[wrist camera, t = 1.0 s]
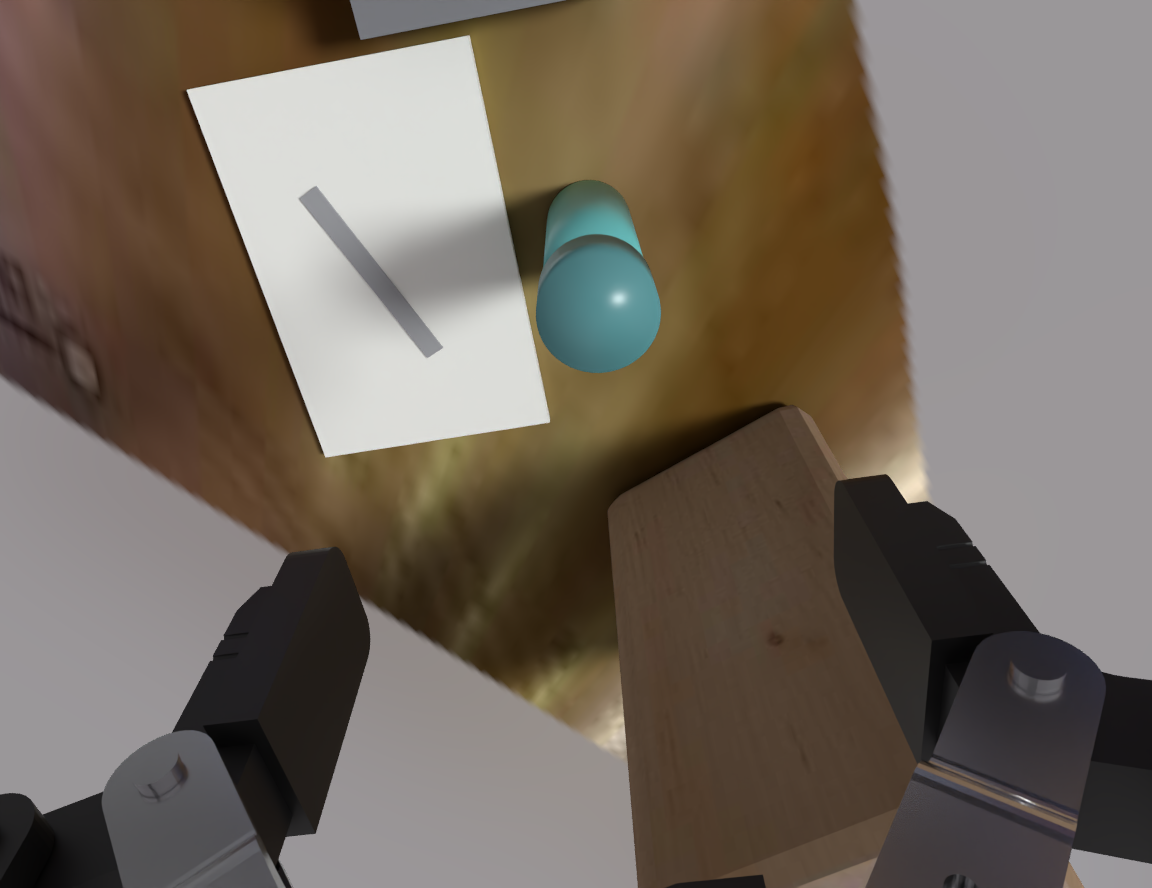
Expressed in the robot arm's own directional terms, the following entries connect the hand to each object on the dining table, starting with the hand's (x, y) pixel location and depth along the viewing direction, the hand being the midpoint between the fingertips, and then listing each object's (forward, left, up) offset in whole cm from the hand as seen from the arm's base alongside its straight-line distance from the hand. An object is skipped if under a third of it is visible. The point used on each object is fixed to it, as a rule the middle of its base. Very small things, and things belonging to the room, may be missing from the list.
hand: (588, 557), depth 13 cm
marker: (0, +1, -20) cm, 20 cm away
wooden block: (+15, +6, -20) cm, 26 cm away
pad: (0, -7, -20) cm, 22 cm away
